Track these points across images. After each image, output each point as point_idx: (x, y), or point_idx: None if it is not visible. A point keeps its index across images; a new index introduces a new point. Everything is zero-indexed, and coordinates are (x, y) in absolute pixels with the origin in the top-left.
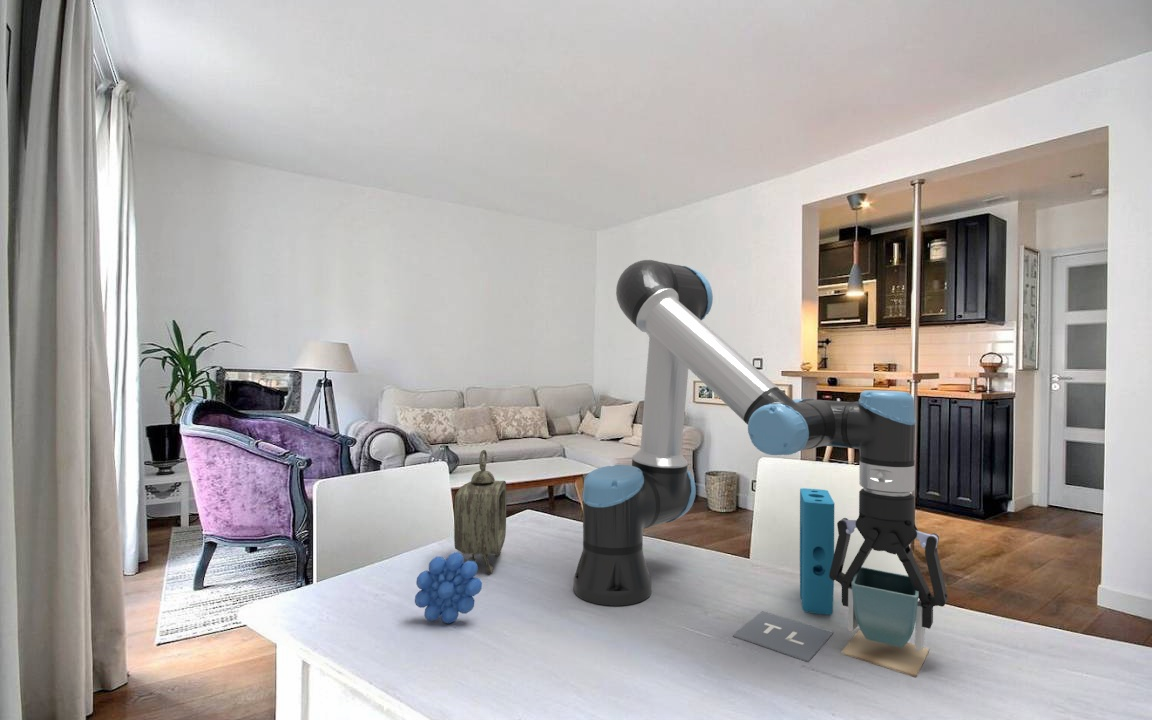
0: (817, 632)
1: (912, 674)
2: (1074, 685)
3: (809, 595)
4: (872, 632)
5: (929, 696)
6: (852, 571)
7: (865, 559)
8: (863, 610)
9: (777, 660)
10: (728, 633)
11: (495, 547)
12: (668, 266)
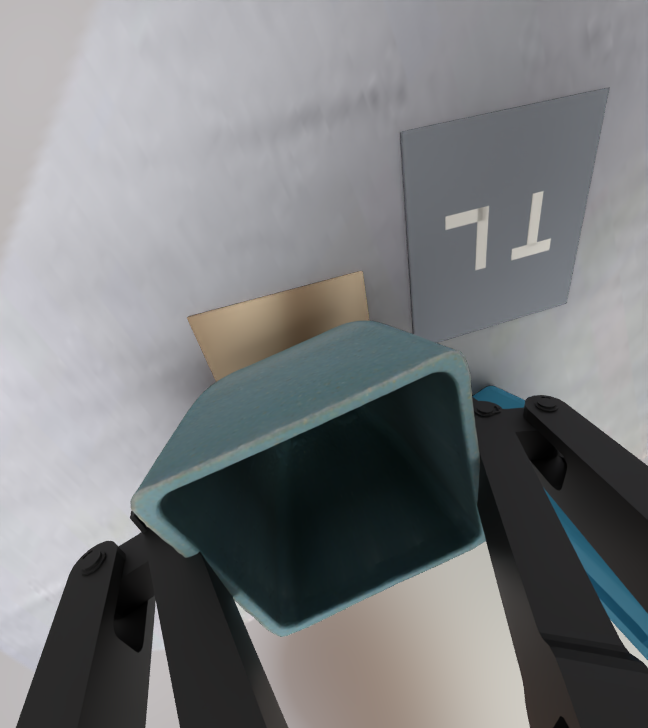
0: (440, 316)
1: (196, 316)
2: (16, 553)
3: (515, 404)
4: (315, 336)
5: (103, 247)
6: (504, 467)
7: (502, 587)
8: (355, 333)
9: (467, 51)
10: (617, 98)
11: None
12: None
